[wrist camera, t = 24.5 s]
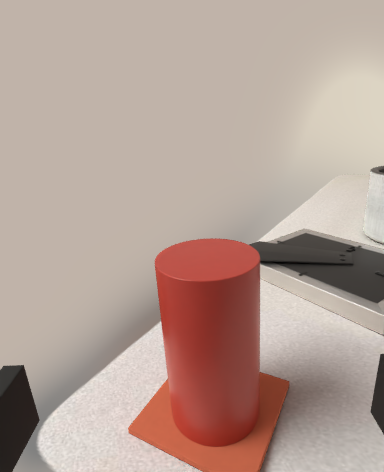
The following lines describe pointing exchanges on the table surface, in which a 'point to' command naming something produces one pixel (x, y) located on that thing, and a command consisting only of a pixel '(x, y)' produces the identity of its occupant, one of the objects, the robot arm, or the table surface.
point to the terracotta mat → (205, 457)
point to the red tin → (211, 337)
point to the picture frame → (328, 274)
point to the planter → (375, 206)
